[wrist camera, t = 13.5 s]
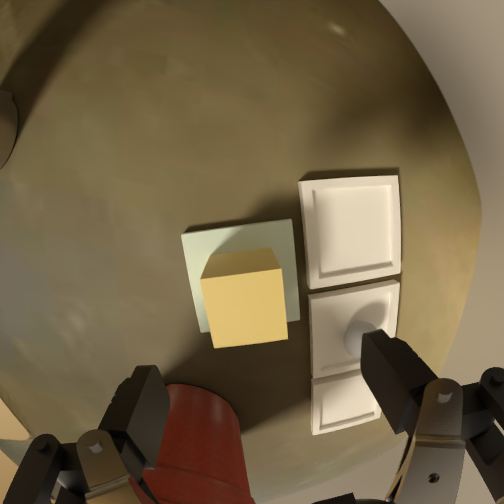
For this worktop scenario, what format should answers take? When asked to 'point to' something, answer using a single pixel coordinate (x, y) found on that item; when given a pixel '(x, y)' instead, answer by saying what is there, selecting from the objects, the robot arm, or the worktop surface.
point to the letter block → (244, 298)
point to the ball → (356, 337)
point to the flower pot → (200, 452)
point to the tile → (237, 240)
